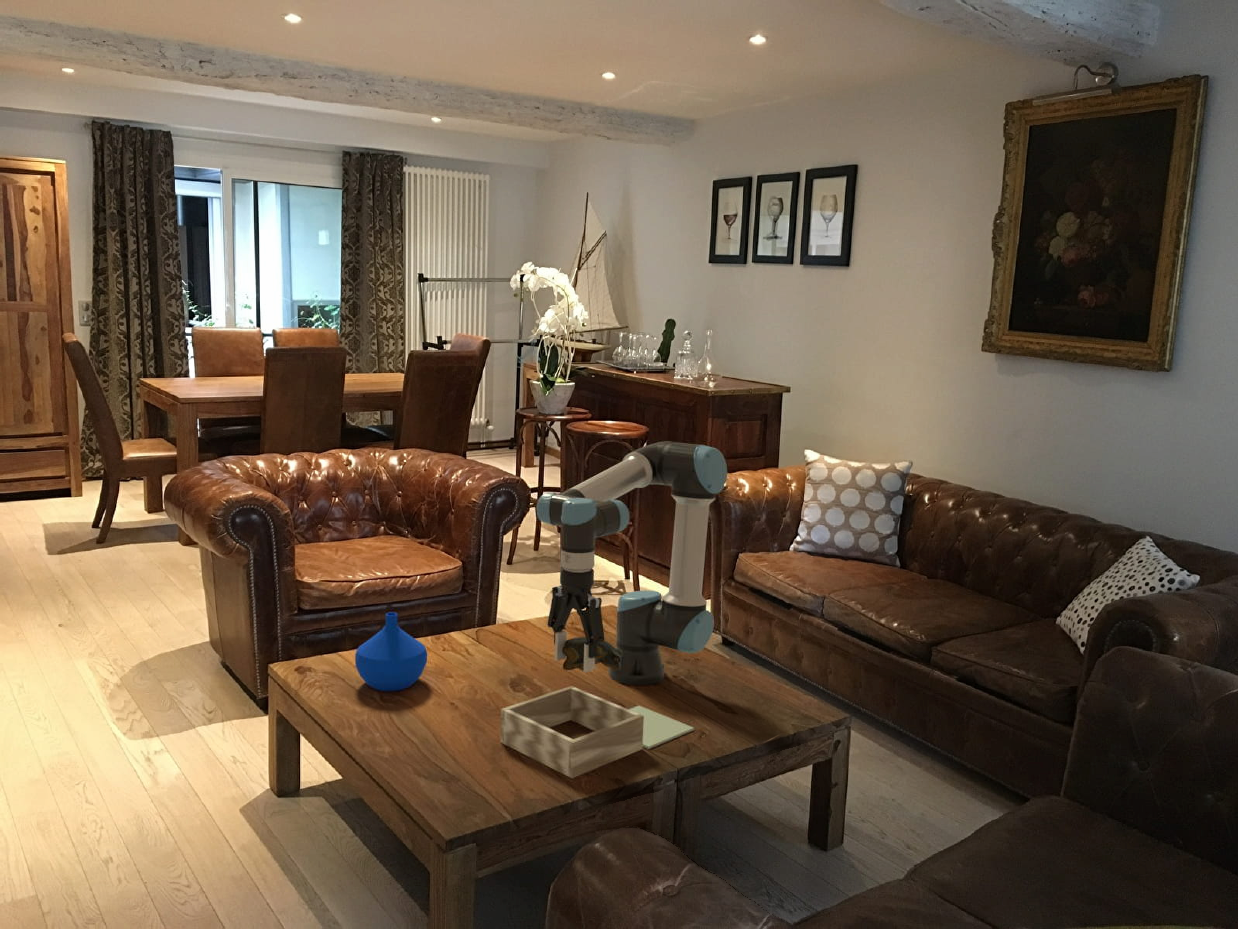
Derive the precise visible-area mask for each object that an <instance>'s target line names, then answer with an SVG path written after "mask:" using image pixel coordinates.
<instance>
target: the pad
mask: <svg viewBox="0 0 1238 929" xmlns="http://www.w3.org/2000/svg"><path fill="white" fill-rule="evenodd" d="M629 710H631V711H633V712H636V713H638V714H641V715H643V716H644V723H643V747H642V748H645V749H648V750H650V749H652V748H654V747H657V746H659V745H662V744H664V743H667V742H669V741H671V740H673V739H676V738H678V737H681V736H682V735H685V734H688V733H690V732H692V731H695V730H694V728H695V727H694V726H690V725H688V724H686V723H683V722H680V721H678V720H676V719H673V718H671V717H668V716H666V715H664V714H661V713H659V712H656V711H654V710H652V709H648V708H646V707H643V706H641V705H637V706H636V705H635V706H634V707H631V708H629Z"/></svg>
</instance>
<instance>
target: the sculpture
mask: <svg viewBox="0 0 1238 929" xmlns="http://www.w3.org/2000/svg"><path fill="white" fill-rule="evenodd" d="M585 643H587V640H586V636H582V637H581V636H579V637H573V638H569V639H566V642H565V646H564V647H563V649H562V652H563V653H564V654H565V655H566V659H564V660H565V661H564V662H563V663H562V669H563V670H564V671H571V670H575V669H579V670H581V671H584V644H585ZM622 654H623V653H622V651H621V650H620V649H616V647H614V646H613V645H612V644H611V643H610V642H608V641H606V640H604V641H603V642H600V643H597V656H596V657H595V665H597V664H599V663H601V664H603V666H605V667H608V668H609V667H610V668H612V669H615V670H616V671H618V670H620V667H621V665H620V661H621V657H622Z"/></svg>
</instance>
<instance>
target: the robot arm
mask: <svg viewBox="0 0 1238 929" xmlns="http://www.w3.org/2000/svg"><path fill="white" fill-rule="evenodd" d="M725 459H726V458H725V457H724V455H723V453H722V452H721V451H720V450H719V449H718V448H715V447H711V446H707V445H704V444H697V443H696V444H695V443H694V444H693V443H684V442H676V441H671V440H670V441H669V440H667V441H666V440H665V441H657V442H655V443H651V444H648V445H645V446H641V447H640V448H637V449H635V450H633V451H631V452H630V453H627V454H626V455H625V456H624V457H623V459H622V461H620V462H619V463H617V464H615V465H613V466H611V467H609V468H608V469H605V470H603V471H602V472H600V473H598V474H596V475H594V476H592V477H590V478H588V479H586V480H584V481H582V482H580V483H579V484H577V485H575V486H573V487H571V488H569V489H567V490H564V491H563V492H559V493H557V492H555V491H554V492H544V493H543V494H542V495H541V496H540V497H539V498H538V501H537V504H536V516H537V518H538V520H539V521H540V522H542V523H543V524H548V525H550V526H553V527H559V528H560V527H561V545H560V567H561V569H560V570H559V571H560V573H559V575H560V576H559V585H557V586H553V587H552V588H551V593H552V598H551V603H550V609H549V615H548V619H547V627H548V628H551V629H552V631H553V643H554V644H553V645H554V661H556V662H558V661H562V660H566V655H565V654H564V653H563V652H562V649H563V647H564V646H565V642H566V641H567V630H566V629H567V628H566V625H567V622H568V620H569V619H570V618H569V617H570V615H571V613H572V611H573V610H574V611H576V614H577V615H578V616H579V619H580V622H581V626H582V628H583V632H584V637H586V640H587V643H585V644H584V670H583V672H584V673H590V672H591V671H594V670H595V668H596V666H595V665H596V664H595V657H596V656H597V643H600V642H603V641H606V640H605V631H604V624H603V623H604V622H603V615H602V602H603V599H602V598H601V597H599V596H598V597H595V596H593V594H592V593H593V592H592V587H593V586H594V581H595V578H594V577H595V570H594V569H593V568H594V567H595V551H596V550H595V548H596V547H595V545H596V539H598V538H602V537H605V536H608V535H615V534H616V533H619V532H622V531H624V530H625V529H626V528H627V526H628V525H629V522H630V511H629V508H628V507H627V505H626V504H625V503H624V502H623V501H621V500H619V499H617V498H619V497H621V496H623V495H625V494H627V493H629V492H631V491H632V490H634V489H636V488H638V489H642V488H645V487H647V486H649V485H663V486H667V487H671V489H670V490H671V492H670V496H671V497H672V498H673V500H675V511H674V512H675V514H674V515H675V516H674V524H673V536H672V537H673V539H672V547H671V548H672V549H671V562H670V574H669V583H668V584H669V585H668V586H669V587H668V592H667V593H666V594H664V595H663V596H662V593H661V592H659V591H656V590H636V591H635V590H634V591H628V592H626V593H624V594H621V595H620V596H619V599H618V602H617V608H616V613H617V614H616V615H617V616H616V617H617V619H616V643H615V644H616V647H615V648H616V649H620V650H621V651H622V653H623V654H622V657H621V661H620V665H621V667H620V670H618V671H616V670H615V669H612V668H610V667H608V676H609V677H610V679H612V680H614V681H615V682H617V683H622V684H625V685H632V686H647V685H653V684H657V683H660V682H661V681H663V680H664V678H665V665H664V664H663V661H662V655H661V651H660V646H661V647H664V648H668V649H672V650H676V651H678V652H681V653H687V654H696V653H697V654H698V653H699V652H701V651H702V650H703V649H704V648H705V647H706V646H707V644H708V643H709V641H710V639H711V636H712V634H713V631H714V626H715V620H714V616H713V613H712V612H710V611H709V610H707V603H708V602H707V600H706V599H705V597H704V596H703V595H702V594H703V593H702V592H703V583H704V582H703V580H704V571H705V570H704V568H705V561H706V560H705V559H706V546H707V536H708V535H707V534H708V523H709V512H710V505H711V503H713V502H714V501H715V500H716V497H717V494H718V493H721V492H722V491H723V489H724V488H725V484H726V483H727V479H728V468H727V466H728V465H727V462H726V460H725Z"/></svg>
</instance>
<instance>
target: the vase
mask: <svg viewBox="0 0 1238 929" xmlns="http://www.w3.org/2000/svg"><path fill="white" fill-rule="evenodd" d="M354 657H355V658H354V659H355V667H356V670H357V672H358V674H359V676H360V677H361V679H362V680H363V681H364V682H365V683H366V684H367V685H368V686H369V687H370V688H372V689H374V690H376V691H380V692H398V691H403V690H405V688H406V689H408V688H409V687H411V686H412V685H414V683H416V682H417V681H418V679H419V678H420V677H421V676H422V674H423V672H424V669H425V668H426V666H427V662H428V651H427V649H426V645H425V644H423V643H422V642H421V641H419V640H418V639H416V638H415V637H413V636H411V635H410V634H408V633H407V632H406V631H404V630H403V629H402V628H400V626H399V625H398V613H397V612H394V611H393V612H387V613H385V625H384V627H382V629H381V630H379V631H378V632H377V633H376V634H374V635H373V636H372V637H371V638H369V639H368V640H366V641H365V642H364V643H362V644H361V645H359V646H358V648H357V649H356V651H355V655H354Z"/></svg>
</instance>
